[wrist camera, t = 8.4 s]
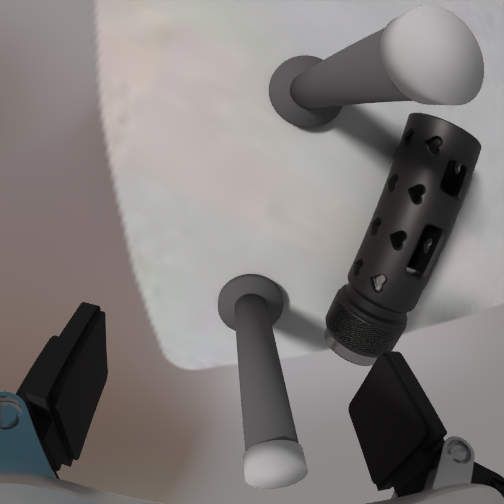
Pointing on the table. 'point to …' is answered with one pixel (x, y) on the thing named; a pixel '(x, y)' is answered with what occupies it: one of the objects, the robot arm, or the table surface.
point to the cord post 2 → (384, 69)
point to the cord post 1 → (262, 383)
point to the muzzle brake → (402, 238)
